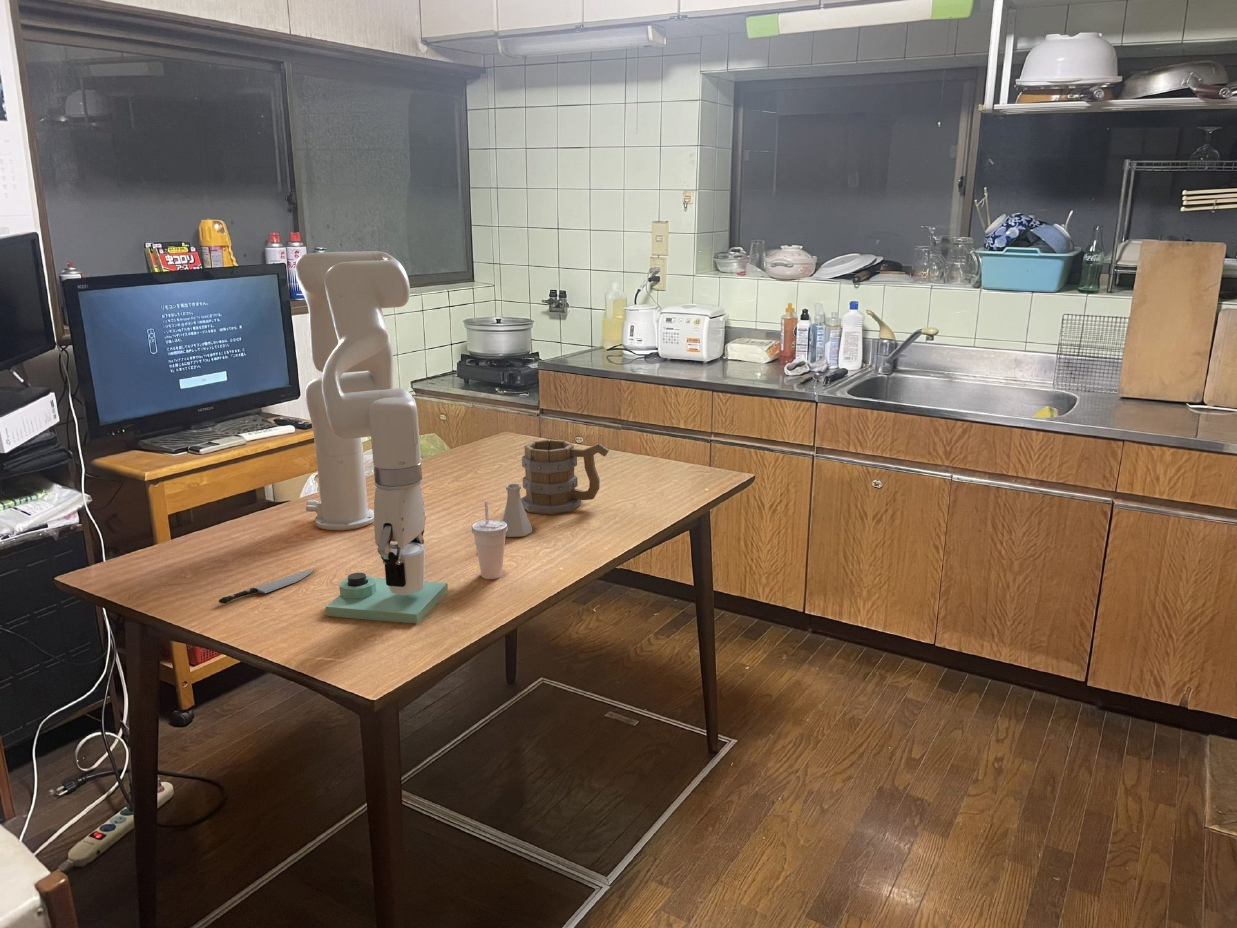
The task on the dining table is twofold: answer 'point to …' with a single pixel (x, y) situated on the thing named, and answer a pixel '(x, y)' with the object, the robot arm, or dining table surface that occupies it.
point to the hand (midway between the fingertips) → (405, 575)
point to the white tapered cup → (411, 569)
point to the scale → (385, 601)
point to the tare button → (357, 579)
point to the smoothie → (490, 545)
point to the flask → (515, 513)
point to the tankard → (557, 476)
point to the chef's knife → (268, 586)
